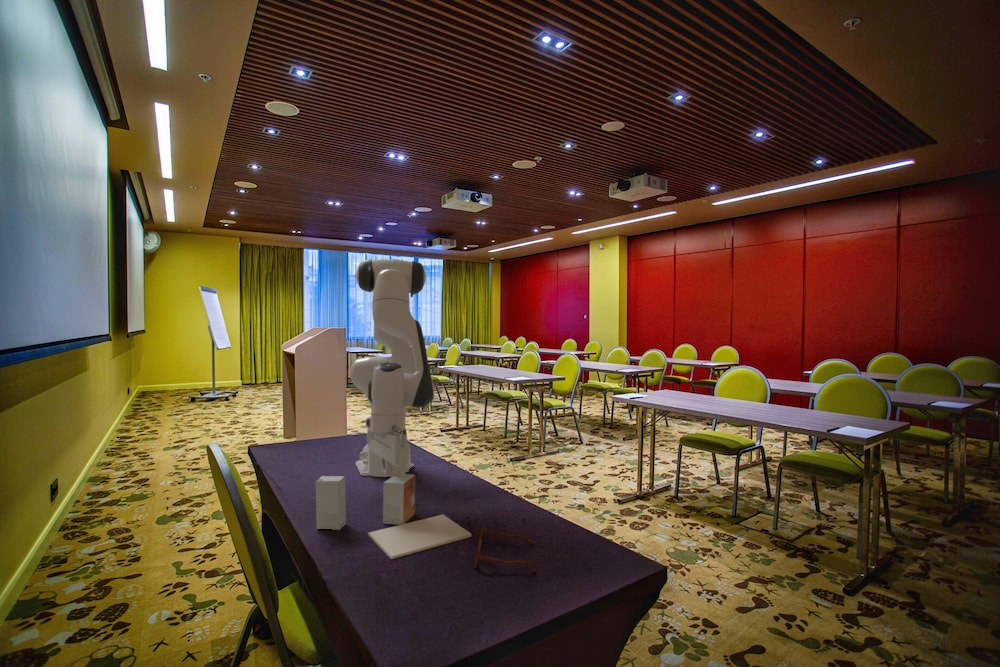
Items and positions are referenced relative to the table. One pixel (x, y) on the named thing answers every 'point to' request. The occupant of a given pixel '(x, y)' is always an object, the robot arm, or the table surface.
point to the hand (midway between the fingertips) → (387, 474)
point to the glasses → (499, 559)
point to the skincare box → (330, 502)
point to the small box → (398, 499)
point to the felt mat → (418, 536)
